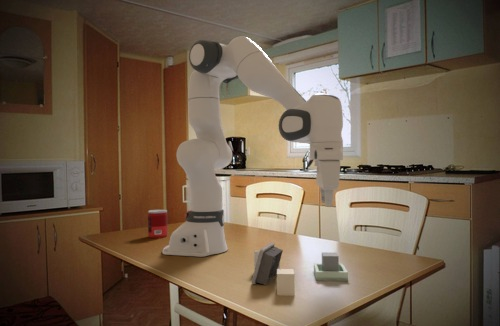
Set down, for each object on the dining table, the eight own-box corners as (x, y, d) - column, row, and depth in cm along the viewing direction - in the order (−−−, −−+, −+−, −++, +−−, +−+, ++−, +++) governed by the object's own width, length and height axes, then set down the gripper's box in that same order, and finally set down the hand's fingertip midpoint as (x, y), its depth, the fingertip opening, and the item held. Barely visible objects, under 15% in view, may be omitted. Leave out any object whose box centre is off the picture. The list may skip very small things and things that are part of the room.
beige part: (277, 295, 86) (276, 273, 86) (277, 289, 90) (277, 268, 90) (294, 295, 86) (294, 274, 86) (294, 289, 90) (293, 269, 90)
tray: (316, 280, 96) (316, 272, 96) (313, 271, 104) (313, 263, 104) (348, 280, 96) (347, 272, 96) (342, 271, 104) (342, 263, 104)
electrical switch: (263, 274, 102) (266, 241, 102) (281, 278, 100) (284, 244, 100) (250, 285, 94) (253, 248, 93) (270, 289, 92) (272, 252, 91)
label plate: (254, 272, 104) (254, 251, 104) (254, 272, 105) (254, 250, 105) (279, 273, 103) (279, 251, 103) (279, 272, 104) (279, 250, 104)
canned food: (171, 235, 159) (170, 210, 159) (157, 239, 152) (156, 212, 152) (158, 234, 163) (158, 209, 163) (144, 237, 156) (143, 211, 156)
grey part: (323, 275, 98) (323, 256, 98) (321, 270, 102) (321, 252, 102) (338, 275, 98) (338, 256, 98) (336, 270, 102) (336, 252, 102)
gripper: (311, 154, 112) (311, 200, 112) (317, 153, 91) (317, 209, 91) (333, 154, 111) (333, 200, 111) (344, 152, 91) (344, 209, 91)
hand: (326, 204), depth 101 cm, fingers open, 8 cm apart
